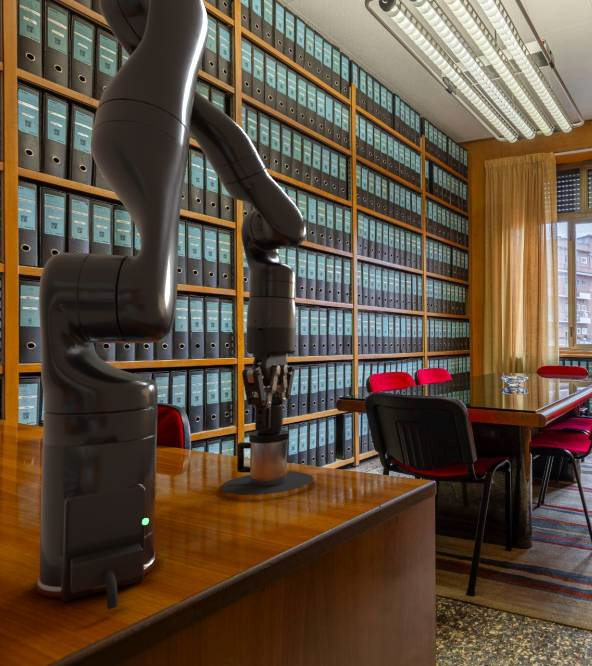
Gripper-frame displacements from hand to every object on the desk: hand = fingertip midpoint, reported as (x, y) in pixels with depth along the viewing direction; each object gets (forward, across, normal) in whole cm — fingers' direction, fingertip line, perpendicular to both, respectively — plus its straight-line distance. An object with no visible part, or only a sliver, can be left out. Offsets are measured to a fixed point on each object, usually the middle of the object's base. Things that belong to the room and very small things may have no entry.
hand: (269, 427), depth 83 cm
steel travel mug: (+9, 0, -1) cm, 9 cm away
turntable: (+10, 0, 0) cm, 10 cm away
